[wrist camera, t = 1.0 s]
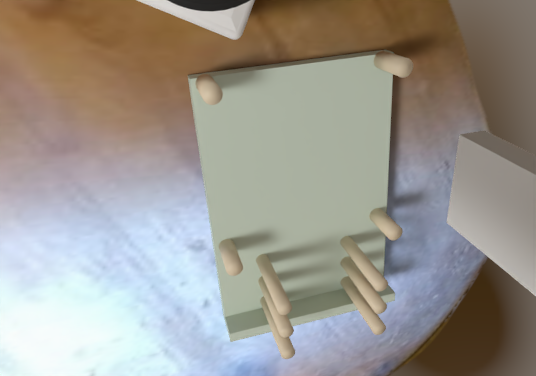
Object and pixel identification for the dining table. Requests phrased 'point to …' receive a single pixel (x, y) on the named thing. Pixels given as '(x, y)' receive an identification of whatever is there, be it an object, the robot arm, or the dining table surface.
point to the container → (209, 13)
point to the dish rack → (298, 189)
